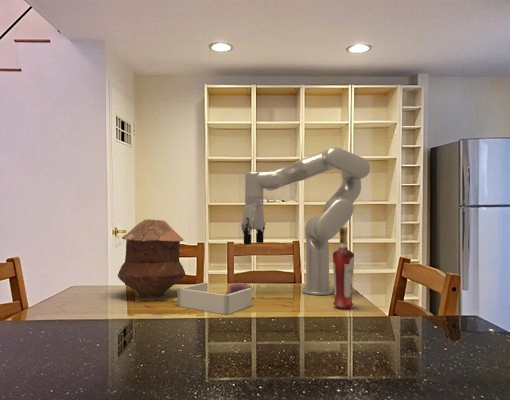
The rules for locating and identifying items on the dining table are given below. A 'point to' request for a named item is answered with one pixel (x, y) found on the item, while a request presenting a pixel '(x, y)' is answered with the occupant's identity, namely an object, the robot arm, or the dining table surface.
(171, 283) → the pottery vessel
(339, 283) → the red glass bottle
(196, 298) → the bin
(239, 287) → the video game controller
